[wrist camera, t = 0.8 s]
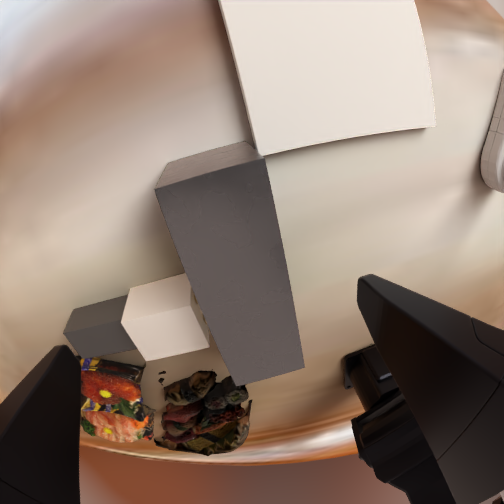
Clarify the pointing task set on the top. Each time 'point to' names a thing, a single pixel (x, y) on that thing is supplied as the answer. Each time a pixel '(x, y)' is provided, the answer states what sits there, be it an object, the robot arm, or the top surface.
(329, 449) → the top surface
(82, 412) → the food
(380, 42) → the white mat
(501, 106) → the electronic device
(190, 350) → the plug
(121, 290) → the top surface
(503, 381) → the robot arm
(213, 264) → the grey notched block
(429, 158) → the top surface
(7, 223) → the top surface
